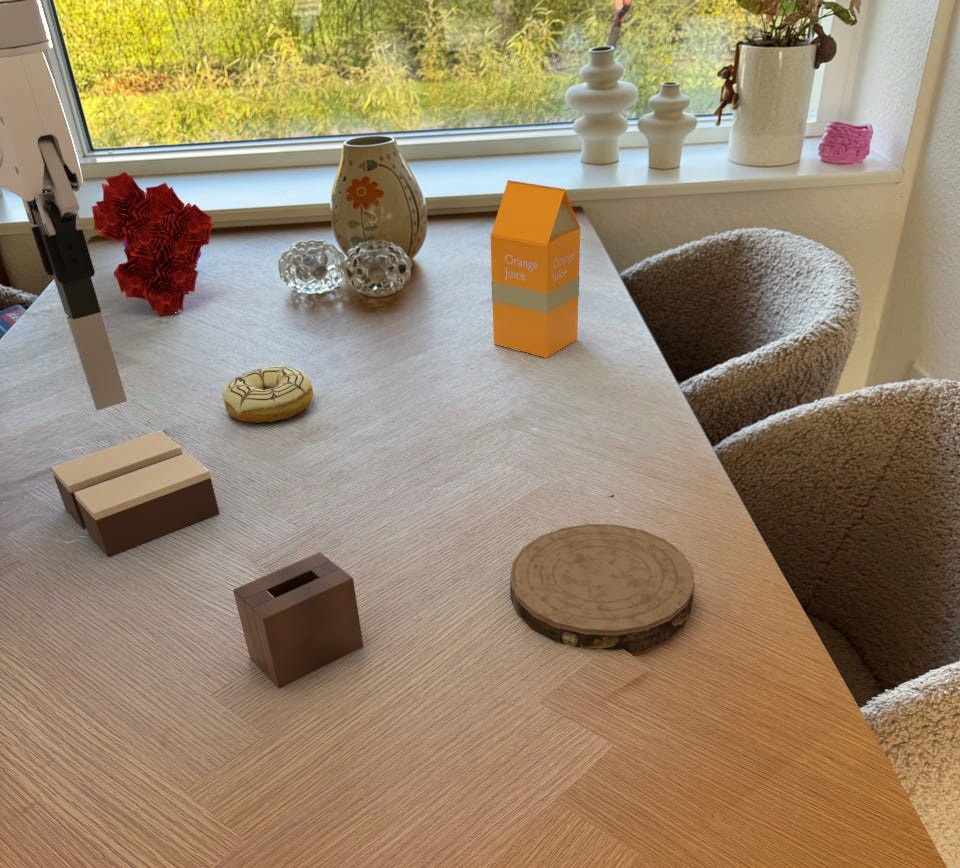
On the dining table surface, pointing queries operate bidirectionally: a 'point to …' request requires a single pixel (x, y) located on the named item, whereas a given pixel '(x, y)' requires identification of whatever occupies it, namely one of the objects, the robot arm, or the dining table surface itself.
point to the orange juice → (535, 269)
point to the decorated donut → (268, 394)
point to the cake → (110, 466)
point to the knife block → (299, 618)
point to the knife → (88, 335)
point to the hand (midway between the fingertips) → (70, 273)
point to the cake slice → (147, 503)
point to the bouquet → (153, 240)
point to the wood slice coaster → (603, 588)
